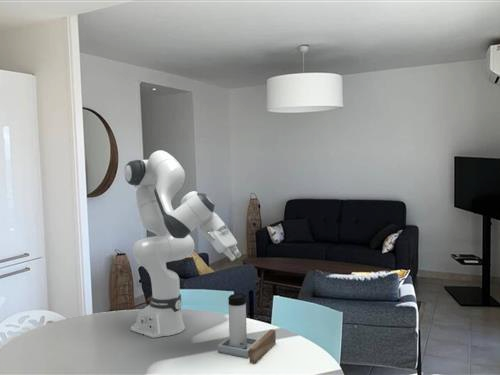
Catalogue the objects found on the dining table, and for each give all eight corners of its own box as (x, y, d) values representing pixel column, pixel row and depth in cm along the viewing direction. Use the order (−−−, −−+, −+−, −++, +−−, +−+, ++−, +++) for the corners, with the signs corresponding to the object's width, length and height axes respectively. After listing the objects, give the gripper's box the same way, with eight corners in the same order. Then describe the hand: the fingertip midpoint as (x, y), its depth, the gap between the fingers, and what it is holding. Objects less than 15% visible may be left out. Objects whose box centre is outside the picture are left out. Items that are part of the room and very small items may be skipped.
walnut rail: (249, 362, 150) (249, 348, 150) (270, 342, 166) (270, 329, 166) (255, 363, 149) (254, 349, 149) (275, 343, 165) (275, 330, 165)
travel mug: (246, 352, 157) (244, 297, 155) (228, 351, 158) (226, 296, 157) (249, 345, 163) (247, 291, 162) (231, 344, 164) (230, 291, 163)
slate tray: (217, 352, 159) (217, 345, 158) (232, 340, 168) (232, 334, 168) (247, 358, 153) (247, 351, 153) (260, 346, 163) (260, 339, 163)
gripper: (212, 224, 154) (237, 255, 152) (226, 222, 174) (248, 250, 172) (199, 236, 155) (223, 267, 153) (214, 233, 175) (236, 260, 173)
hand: (237, 258), depth 163 cm, fingers open, 8 cm apart
